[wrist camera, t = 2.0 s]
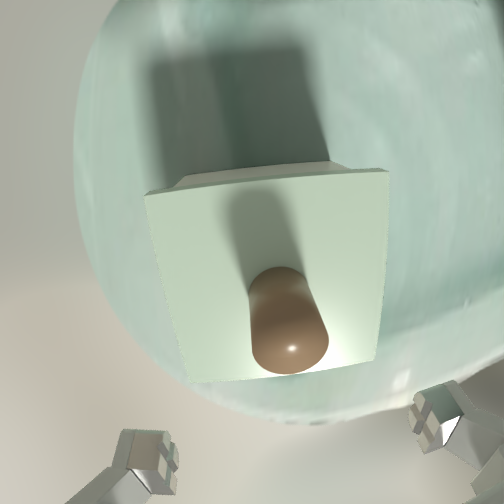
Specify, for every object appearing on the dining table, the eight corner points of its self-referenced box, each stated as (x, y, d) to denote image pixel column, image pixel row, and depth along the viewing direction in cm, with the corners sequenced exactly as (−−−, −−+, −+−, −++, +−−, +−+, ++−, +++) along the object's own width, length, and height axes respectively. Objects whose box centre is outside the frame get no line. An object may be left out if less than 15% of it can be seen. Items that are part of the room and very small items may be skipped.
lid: (370, 165, 17) (437, 190, 10) (363, 338, 21) (398, 407, 15) (155, 186, 17) (108, 223, 10) (194, 359, 21) (182, 437, 15)
